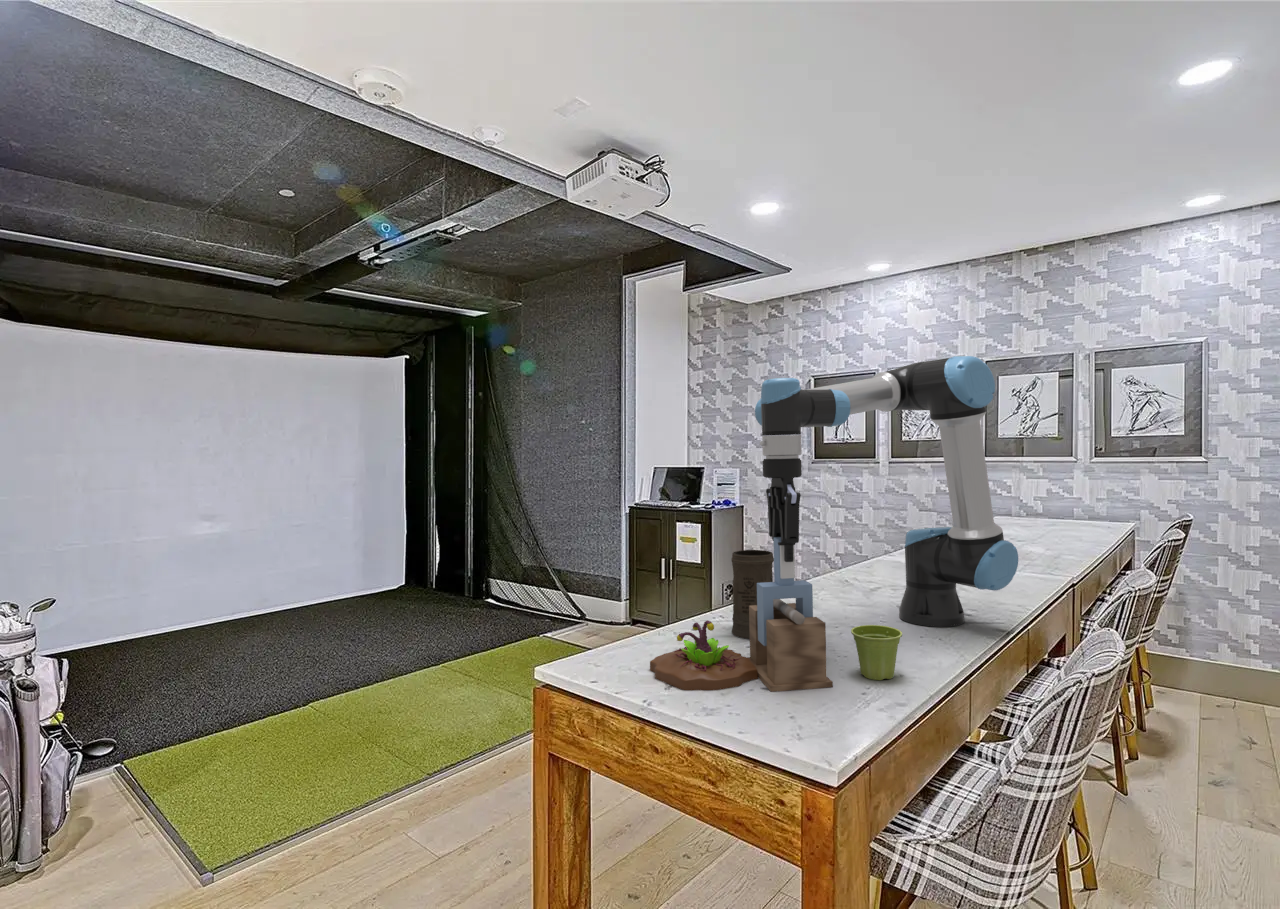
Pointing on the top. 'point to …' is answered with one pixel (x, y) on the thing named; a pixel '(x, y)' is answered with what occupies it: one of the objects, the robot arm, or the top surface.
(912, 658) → the top surface
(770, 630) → the stand
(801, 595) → the light blue forked piece
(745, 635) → the beer stein
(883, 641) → the plant pot
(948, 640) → the top surface
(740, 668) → the plant
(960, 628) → the top surface
